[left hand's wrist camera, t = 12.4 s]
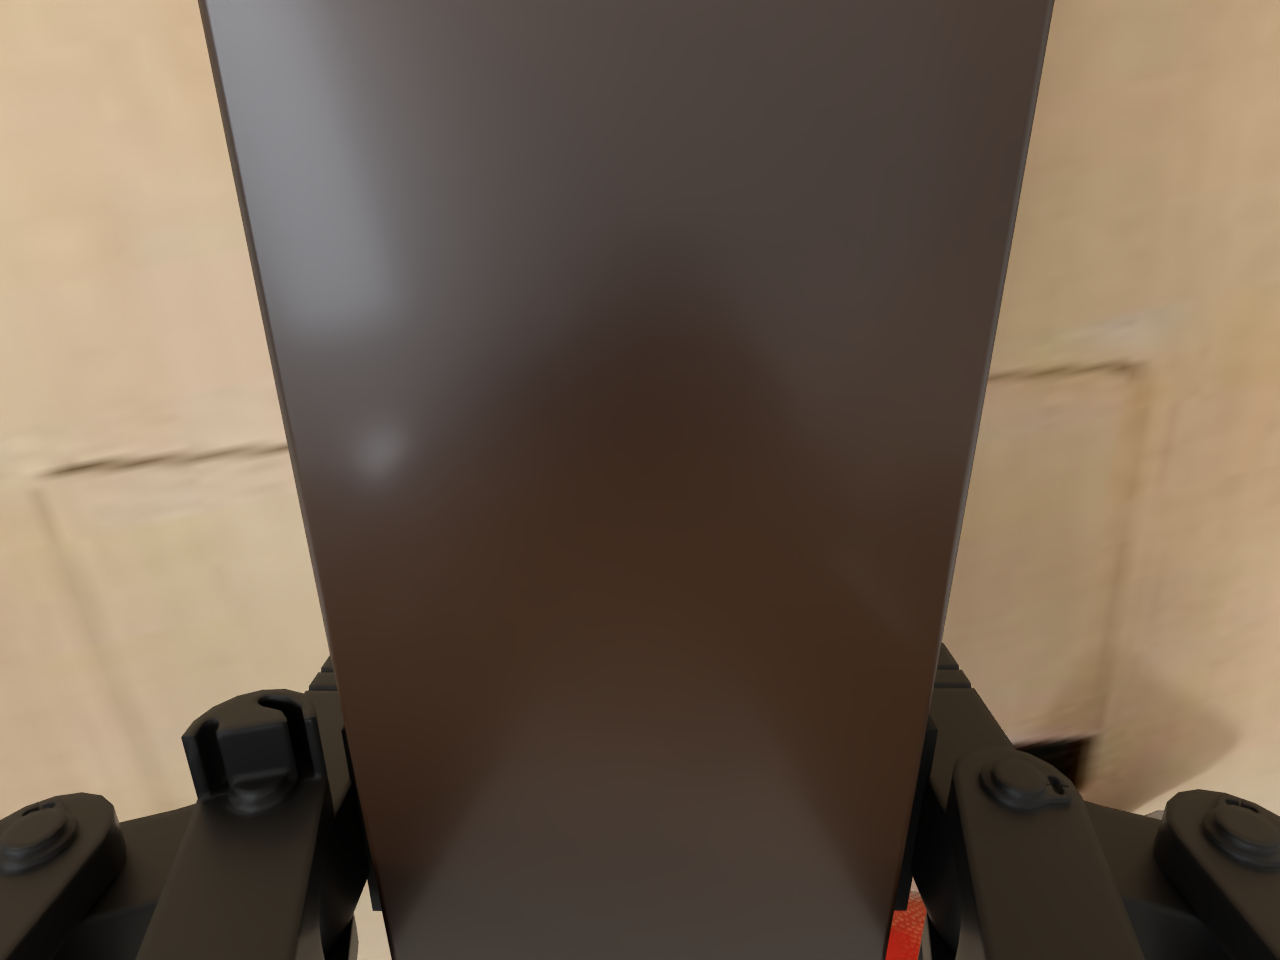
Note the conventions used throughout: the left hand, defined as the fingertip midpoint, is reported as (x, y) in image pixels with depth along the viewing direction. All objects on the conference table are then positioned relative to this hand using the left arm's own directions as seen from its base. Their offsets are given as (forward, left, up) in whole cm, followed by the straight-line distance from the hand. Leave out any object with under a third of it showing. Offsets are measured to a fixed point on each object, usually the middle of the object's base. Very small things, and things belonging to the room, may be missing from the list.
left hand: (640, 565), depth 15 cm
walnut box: (+10, +6, 0) cm, 12 cm away
